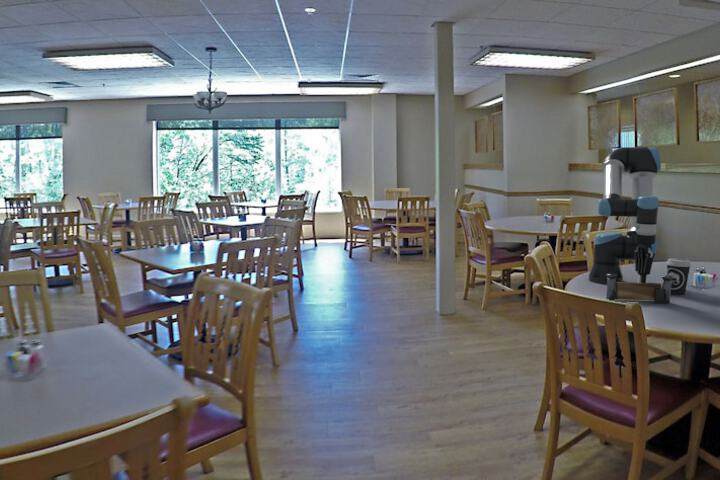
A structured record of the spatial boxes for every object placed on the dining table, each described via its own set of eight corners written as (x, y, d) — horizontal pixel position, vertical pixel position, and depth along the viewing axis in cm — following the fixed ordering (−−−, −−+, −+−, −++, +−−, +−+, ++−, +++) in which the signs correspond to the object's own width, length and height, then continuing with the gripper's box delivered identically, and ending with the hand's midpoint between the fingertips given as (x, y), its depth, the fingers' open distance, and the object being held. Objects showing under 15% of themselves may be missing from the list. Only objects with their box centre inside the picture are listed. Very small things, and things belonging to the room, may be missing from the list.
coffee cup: (692, 297, 234) (695, 262, 232) (667, 296, 236) (670, 261, 234) (684, 291, 244) (686, 258, 241) (660, 290, 245) (662, 257, 243)
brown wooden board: (614, 298, 232) (615, 281, 231) (658, 300, 229) (659, 283, 228) (615, 299, 231) (616, 282, 229) (660, 301, 227) (661, 284, 226)
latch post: (651, 300, 230) (653, 274, 228) (669, 301, 228) (671, 275, 226) (654, 303, 225) (656, 277, 224) (672, 304, 224) (674, 278, 222)
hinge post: (604, 298, 234) (605, 273, 233) (614, 298, 233) (616, 273, 232) (606, 300, 230) (607, 275, 229) (616, 301, 229) (618, 275, 228)
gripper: (628, 231, 234) (624, 286, 238) (644, 236, 221) (639, 293, 225) (646, 231, 234) (642, 286, 238) (663, 236, 221) (658, 293, 225)
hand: (641, 289), depth 231 cm, fingers closed
